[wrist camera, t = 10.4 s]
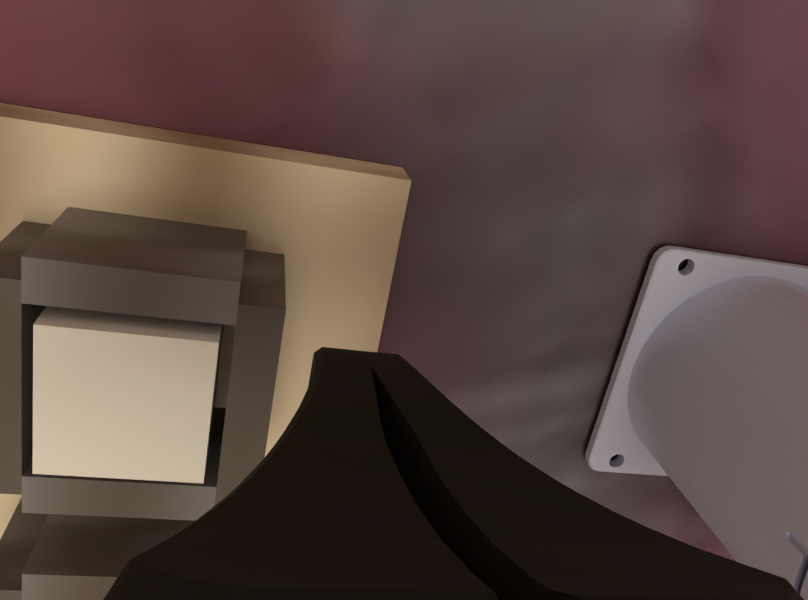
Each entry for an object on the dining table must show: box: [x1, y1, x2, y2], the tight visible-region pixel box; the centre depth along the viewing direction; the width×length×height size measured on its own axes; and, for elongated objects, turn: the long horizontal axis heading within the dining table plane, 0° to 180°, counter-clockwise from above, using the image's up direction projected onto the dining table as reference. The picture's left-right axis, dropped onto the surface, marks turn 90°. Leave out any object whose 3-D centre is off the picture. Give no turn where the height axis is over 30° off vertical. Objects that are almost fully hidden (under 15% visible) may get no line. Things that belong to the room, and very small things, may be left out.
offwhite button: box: [32, 306, 224, 483], centre depth 17 cm, size 4×4×3 cm
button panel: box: [0, 103, 411, 600], centre depth 21 cm, size 12×26×5 cm, turn 169°
